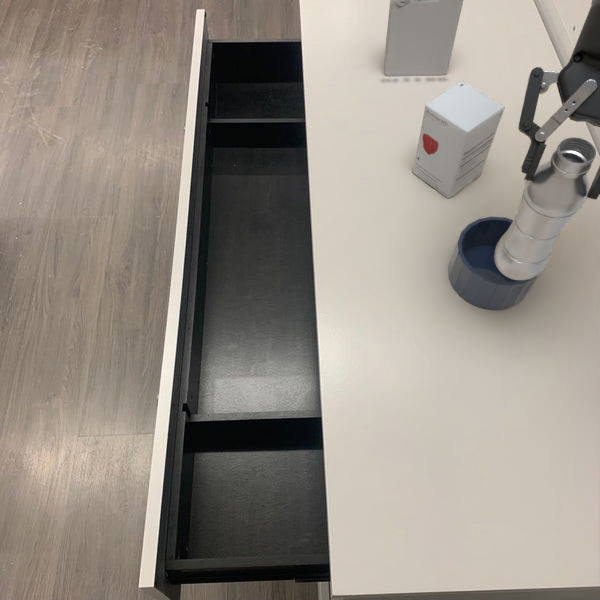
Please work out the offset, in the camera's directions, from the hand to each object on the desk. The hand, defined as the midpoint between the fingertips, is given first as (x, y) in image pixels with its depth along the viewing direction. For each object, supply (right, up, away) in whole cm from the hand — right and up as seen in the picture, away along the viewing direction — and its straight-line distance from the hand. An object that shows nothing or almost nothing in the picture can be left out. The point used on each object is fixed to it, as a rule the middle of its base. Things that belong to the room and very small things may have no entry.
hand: (559, 188), depth 54 cm
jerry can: (-4, +37, +57) cm, 68 cm away
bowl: (+3, -8, +29) cm, 30 cm away
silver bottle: (+1, -7, +15) cm, 17 cm away
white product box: (0, +11, +41) cm, 42 cm away
